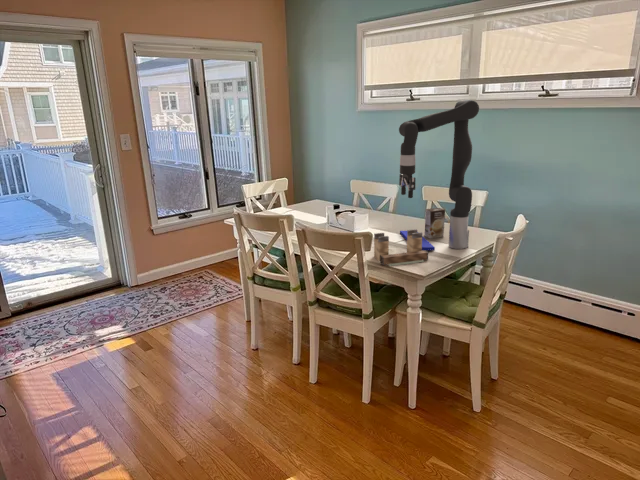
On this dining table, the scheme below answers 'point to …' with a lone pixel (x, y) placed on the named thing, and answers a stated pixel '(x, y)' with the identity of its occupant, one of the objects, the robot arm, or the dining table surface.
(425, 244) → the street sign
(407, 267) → the dining table surface
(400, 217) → the dining table surface
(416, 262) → the mat
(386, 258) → the rail
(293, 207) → the dining table surface
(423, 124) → the robot arm
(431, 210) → the coffee box
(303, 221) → the dining table surface
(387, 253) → the post
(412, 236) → the post
